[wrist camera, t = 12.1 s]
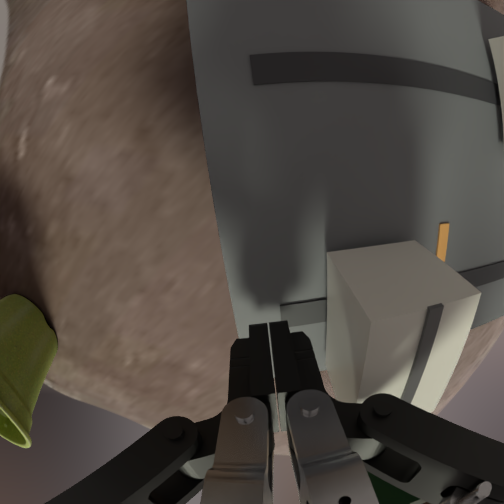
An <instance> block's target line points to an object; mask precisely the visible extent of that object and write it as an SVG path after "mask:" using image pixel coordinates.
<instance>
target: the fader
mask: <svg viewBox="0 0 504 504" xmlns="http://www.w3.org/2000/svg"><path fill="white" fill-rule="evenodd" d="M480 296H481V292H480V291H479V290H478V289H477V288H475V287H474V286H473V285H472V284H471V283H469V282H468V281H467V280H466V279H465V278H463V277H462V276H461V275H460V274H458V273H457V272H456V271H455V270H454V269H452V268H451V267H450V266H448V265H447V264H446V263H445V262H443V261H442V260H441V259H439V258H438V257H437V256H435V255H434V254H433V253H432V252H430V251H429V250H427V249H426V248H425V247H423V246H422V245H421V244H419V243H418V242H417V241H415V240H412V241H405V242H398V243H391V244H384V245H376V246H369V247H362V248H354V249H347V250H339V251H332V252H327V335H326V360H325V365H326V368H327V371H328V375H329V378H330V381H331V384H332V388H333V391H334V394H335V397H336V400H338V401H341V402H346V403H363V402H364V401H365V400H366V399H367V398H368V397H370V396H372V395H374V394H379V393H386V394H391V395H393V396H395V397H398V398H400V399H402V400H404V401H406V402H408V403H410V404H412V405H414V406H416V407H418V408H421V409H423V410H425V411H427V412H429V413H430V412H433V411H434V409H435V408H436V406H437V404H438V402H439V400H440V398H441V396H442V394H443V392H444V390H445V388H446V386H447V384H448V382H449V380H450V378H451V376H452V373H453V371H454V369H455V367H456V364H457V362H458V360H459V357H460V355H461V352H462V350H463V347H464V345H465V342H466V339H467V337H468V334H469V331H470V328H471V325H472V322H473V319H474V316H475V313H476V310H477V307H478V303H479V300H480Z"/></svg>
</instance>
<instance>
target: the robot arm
mask: <svg viewBox="0 0 504 504" xmlns="http://www.w3.org/2000/svg"><path fill="white" fill-rule="evenodd" d="M269 329H270V338H271V348H272V357H273V366H274V374H275V383H276V391H277V400H278V409H279V418H280V426H281V431H287V435H288V444H289V453H290V457H291V461H292V465H293V470H294V475H295V479H296V484H297V488H298V493H299V500H300V504H379V502H378V499H377V497H376V494H375V491H374V489H373V486H372V484H371V481H370V478H369V476H368V473H367V471H368V472H370V473H372V474H374V475H375V476H377V477H379V478H381V479H382V480H384V481H386V482H388V483H390V484H392V485H394V486H395V487H397V488H399V489H401V490H403V491H405V492H407V493H409V494H411V495H413V496H415V497H418V498H420V499H422V500H424V501H426V502H428V503H431V504H504V443H501V442H499V441H496V440H493V439H491V438H488V437H486V436H483V435H481V434H478V433H476V432H473V431H471V430H468V429H466V428H463V427H461V426H459V425H456V424H454V423H452V422H449V421H447V420H445V419H443V418H440V417H438V416H436V415H434V414H431V413H429V412H427V411H425V410H423V409H421V408H418V407H416V406H414V405H412V404H410V403H408V402H406V401H404V400H402V399H400V398H398V397H395V396H393V395H391V394H386V393H379V394H374V395H372V396H370V397H368V398H367V399H366V400H365V401H364V402H363V403H346V402H341V401H338V400H335V399H334V398H332V397H331V396H329V395H328V393H327V392H326V390H325V388H324V385H323V381H322V378H321V374H320V371H319V367H318V364H317V360H316V358H315V353H314V351H313V347H312V343H311V340H310V338H309V337H308V336H307V335H306V334H305V333H304V332H303V331H300V332H292V333H290V330H289V325H288V321H287V320H285V321H277V322H269ZM274 432H279V425H278V415H277V405H276V396H275V387H274V378H273V369H272V360H271V351H270V342H269V334H268V325H267V323H260V324H251V325H249V338H241V339H236V341H235V342H234V344H233V345H232V347H231V351H230V370H229V390H228V402H227V405H226V406H225V407H224V408H223V410H222V412H221V413H219V414H218V415H217V416H215V417H213V418H210V419H207V420H203V421H200V422H196V423H194V422H192V421H191V420H190V419H188V418H185V417H181V416H174V417H169V418H166V419H164V420H163V421H161V422H160V423H159V424H157V425H156V426H155V427H154V428H152V429H151V430H150V431H149V432H147V433H146V434H145V435H144V436H142V437H141V438H140V439H138V440H137V441H136V442H134V443H133V444H132V445H131V446H129V447H128V448H126V449H125V450H124V451H122V452H121V453H120V454H118V455H117V456H116V457H114V458H113V459H111V460H110V461H109V462H107V463H106V464H105V465H103V466H102V467H100V468H99V469H97V470H96V471H94V472H93V473H92V474H90V475H89V476H87V477H86V478H84V479H83V480H82V481H80V482H78V483H77V484H75V485H74V486H72V487H71V488H69V489H68V490H66V491H64V492H63V493H61V494H60V495H58V496H56V497H55V498H53V499H51V500H50V501H48V502H46V503H45V504H186V503H187V502H188V501H189V500H190V499H191V498H193V497H194V496H195V495H196V494H197V493H198V492H199V491H200V490H201V489H203V490H202V496H201V502H200V504H273V461H274V451H273V450H274V447H275V443H274ZM366 470H367V471H366Z"/></svg>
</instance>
